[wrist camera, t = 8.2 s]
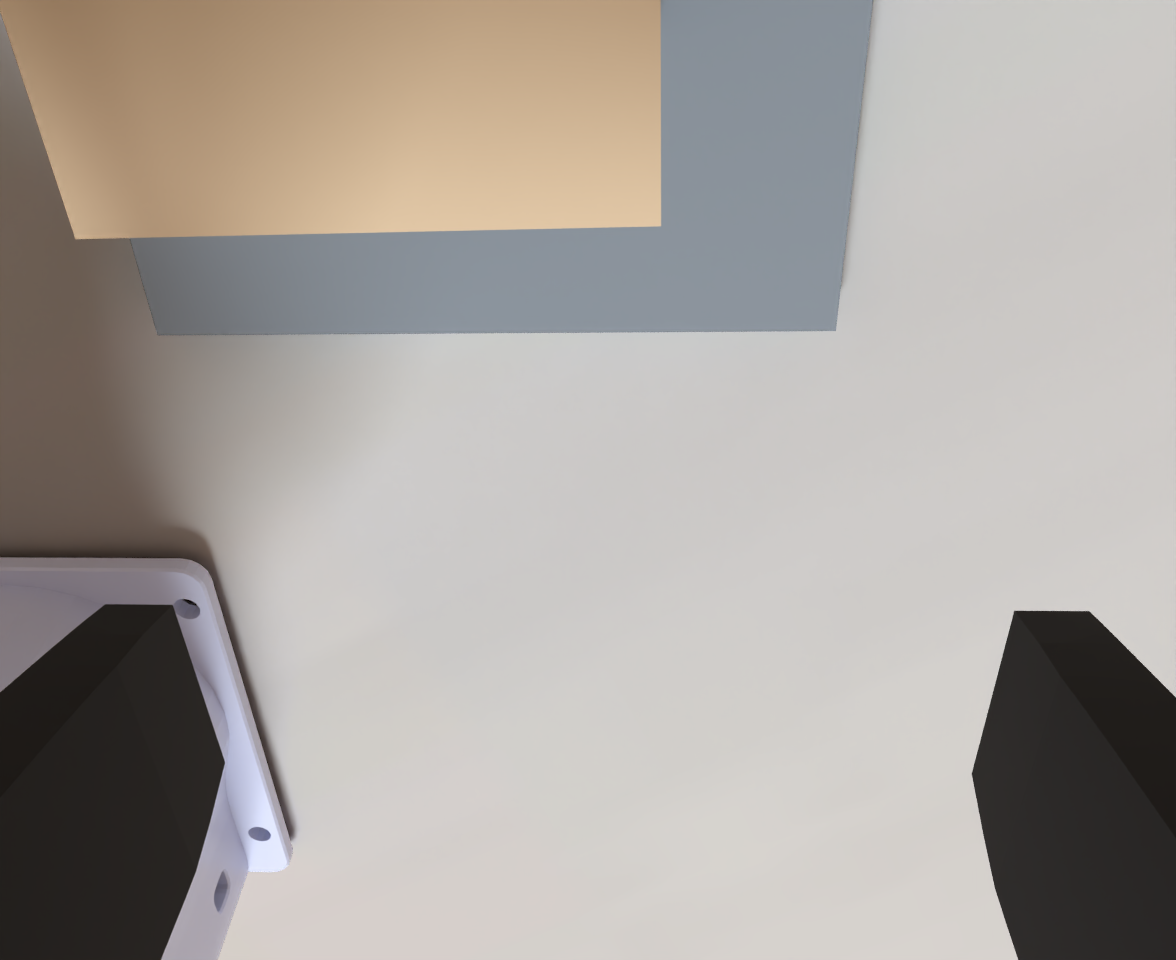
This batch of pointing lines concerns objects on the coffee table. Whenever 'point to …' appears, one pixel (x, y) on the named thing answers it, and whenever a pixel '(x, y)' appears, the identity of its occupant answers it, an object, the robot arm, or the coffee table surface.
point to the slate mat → (599, 255)
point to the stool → (345, 114)
